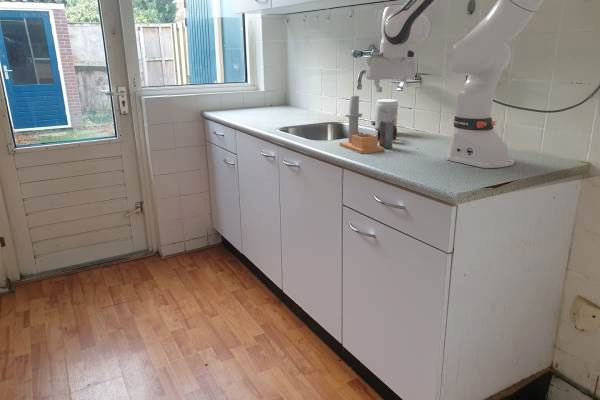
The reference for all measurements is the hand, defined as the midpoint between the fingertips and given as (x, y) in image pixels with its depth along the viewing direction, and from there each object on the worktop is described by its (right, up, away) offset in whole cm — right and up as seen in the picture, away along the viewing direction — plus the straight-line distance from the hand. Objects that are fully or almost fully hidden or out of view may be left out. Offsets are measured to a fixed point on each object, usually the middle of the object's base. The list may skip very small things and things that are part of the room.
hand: (389, 91), depth 167 cm
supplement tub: (+5, -11, +35) cm, 37 cm away
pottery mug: (+3, -16, +19) cm, 25 cm away
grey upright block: (0, -20, +6) cm, 21 cm away
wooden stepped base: (-10, -20, +6) cm, 24 cm away
